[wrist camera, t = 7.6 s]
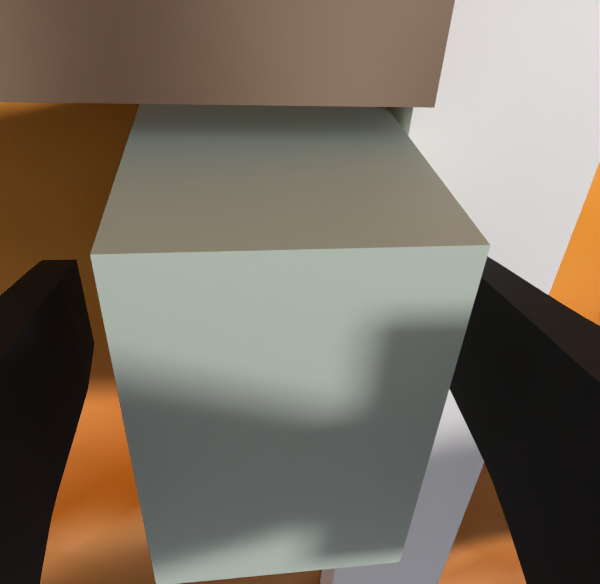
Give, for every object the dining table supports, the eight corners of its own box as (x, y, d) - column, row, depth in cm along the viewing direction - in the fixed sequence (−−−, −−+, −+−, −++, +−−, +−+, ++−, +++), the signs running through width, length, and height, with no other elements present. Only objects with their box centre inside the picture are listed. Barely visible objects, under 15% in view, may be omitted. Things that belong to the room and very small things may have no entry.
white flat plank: (642, -109, 10) (703, -108, 9) (396, 630, 26) (405, 666, 25) (421, -124, 9) (452, -125, 8) (311, 639, 26) (316, 677, 24)
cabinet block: (373, 90, 11) (490, 244, 7) (341, 349, 15) (399, 562, 11) (145, 87, 11) (89, 254, 6) (174, 357, 15) (156, 585, 10)
